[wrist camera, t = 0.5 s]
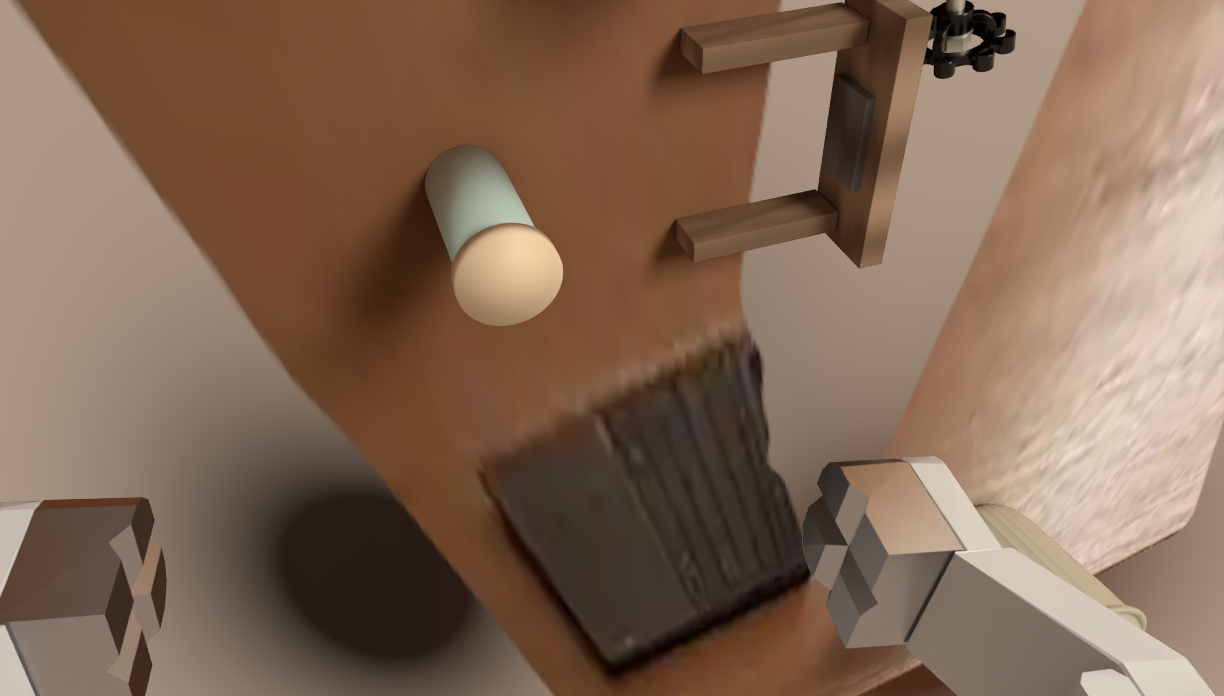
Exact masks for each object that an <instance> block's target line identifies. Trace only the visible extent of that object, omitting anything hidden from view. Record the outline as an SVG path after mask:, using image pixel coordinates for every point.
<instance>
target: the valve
mask: <svg viewBox="0 0 1224 696" xmlns="http://www.w3.org/2000/svg"><path fill="white" fill-rule="evenodd" d="M930 14H932V15H933V19H932V24H931V29H930V33H929V38H928V41H929V40H931V39H932V38H934V41H933V47H932V50H931V49H929V48H926V52H925V57H924V62H923V65H924V64H930V65H933V66H934V76H935V77H937V78H940V79H946V78H949V77H952V76H953V75H954V73H955V67H958V66H963V65H971V66H972V67H973V69H974V70H975V71H977V72H986V71H989V70H991V69H992V68H993V67H994V55H995V52H996V53H998V54H1008V53H1011V52H1012V51H1013V50H1014V48H1015V38H1016V33H1015V31H1013V30H1010V29H1006V33H1005V36H1004V37H997V36H1000V35H1002V34H1004V32H1005V27H1006V15H1005V14H1004V13H1000V12H995V13H989V12H988V11H985V10H974V5H973V4H972V3H971V2H969V1H967V0H946V2H945V3H942V4H941V5H940V6H937V7H935V8H933V9H932V10H931V11H930ZM971 34H974V35H977V36H979V37H981V38H982V39H983V40H984V41H983V42H982V43H981V44H980V45H978V46H976V47H974V48H972V49H970V50H967V51H963V52H959V51H962V50H964V49H966V48H967V47H968V45H969V44H970V42H971ZM944 52H949V53H944Z"/></svg>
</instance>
